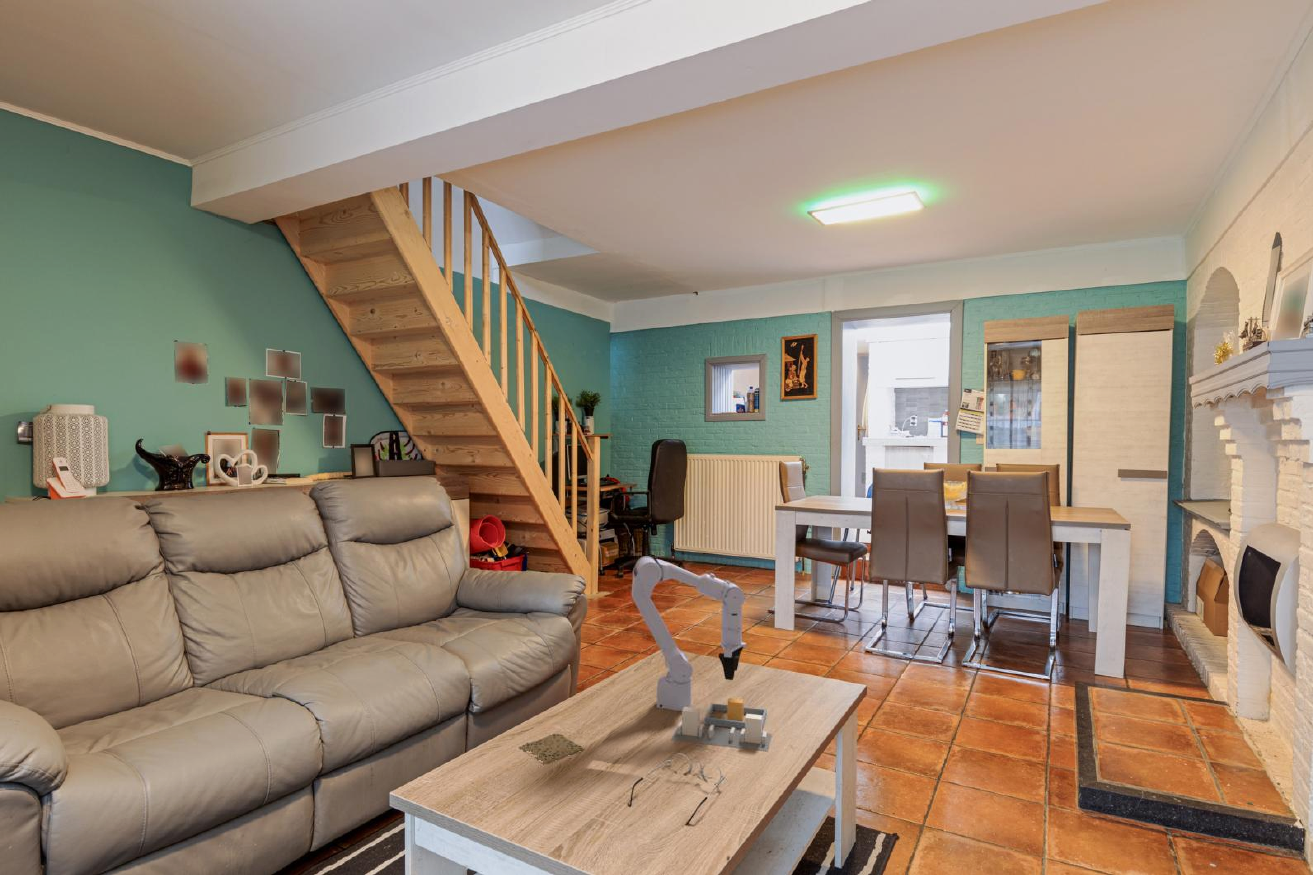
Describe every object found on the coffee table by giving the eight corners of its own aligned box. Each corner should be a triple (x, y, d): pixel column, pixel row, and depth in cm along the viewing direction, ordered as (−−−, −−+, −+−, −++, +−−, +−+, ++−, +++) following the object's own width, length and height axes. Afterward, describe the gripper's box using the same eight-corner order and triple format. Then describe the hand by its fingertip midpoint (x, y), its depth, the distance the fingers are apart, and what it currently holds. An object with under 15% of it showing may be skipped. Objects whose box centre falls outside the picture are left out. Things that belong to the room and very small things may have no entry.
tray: (704, 729, 182) (704, 717, 182) (711, 713, 192) (711, 703, 192) (762, 736, 178) (762, 724, 178) (766, 720, 188) (766, 709, 188)
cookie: (517, 749, 171) (517, 745, 171) (558, 735, 179) (558, 731, 179) (544, 767, 162) (544, 763, 162) (585, 751, 170) (585, 747, 170)
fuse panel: (670, 745, 172) (671, 731, 172) (679, 728, 182) (679, 715, 182) (767, 757, 166) (768, 743, 166) (771, 739, 176) (771, 725, 176)
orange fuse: (727, 723, 184) (727, 701, 184) (728, 719, 187) (728, 697, 187) (742, 725, 183) (742, 703, 183) (743, 721, 186) (743, 699, 186)
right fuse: (745, 741, 171) (745, 717, 171) (746, 737, 174) (746, 713, 174) (761, 743, 170) (761, 719, 170) (762, 739, 173) (762, 715, 173)
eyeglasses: (730, 787, 153) (730, 765, 153) (691, 829, 137) (692, 804, 137) (667, 769, 161) (667, 748, 161) (623, 806, 145) (624, 783, 145)
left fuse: (682, 734, 175) (682, 710, 175) (684, 729, 178) (684, 706, 178) (697, 735, 174) (697, 712, 174) (699, 731, 177) (699, 708, 177)
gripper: (742, 635, 188) (742, 685, 188) (748, 621, 202) (748, 667, 202) (716, 633, 190) (716, 682, 190) (725, 619, 204) (724, 665, 204)
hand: (731, 674), depth 196 cm, fingers open, 7 cm apart
